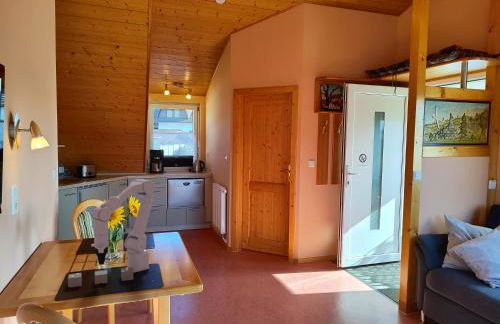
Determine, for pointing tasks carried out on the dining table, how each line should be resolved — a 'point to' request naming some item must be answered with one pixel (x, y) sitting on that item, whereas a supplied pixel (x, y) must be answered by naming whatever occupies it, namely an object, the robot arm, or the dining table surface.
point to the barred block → (127, 273)
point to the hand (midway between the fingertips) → (101, 264)
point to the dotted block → (74, 280)
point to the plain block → (100, 277)
